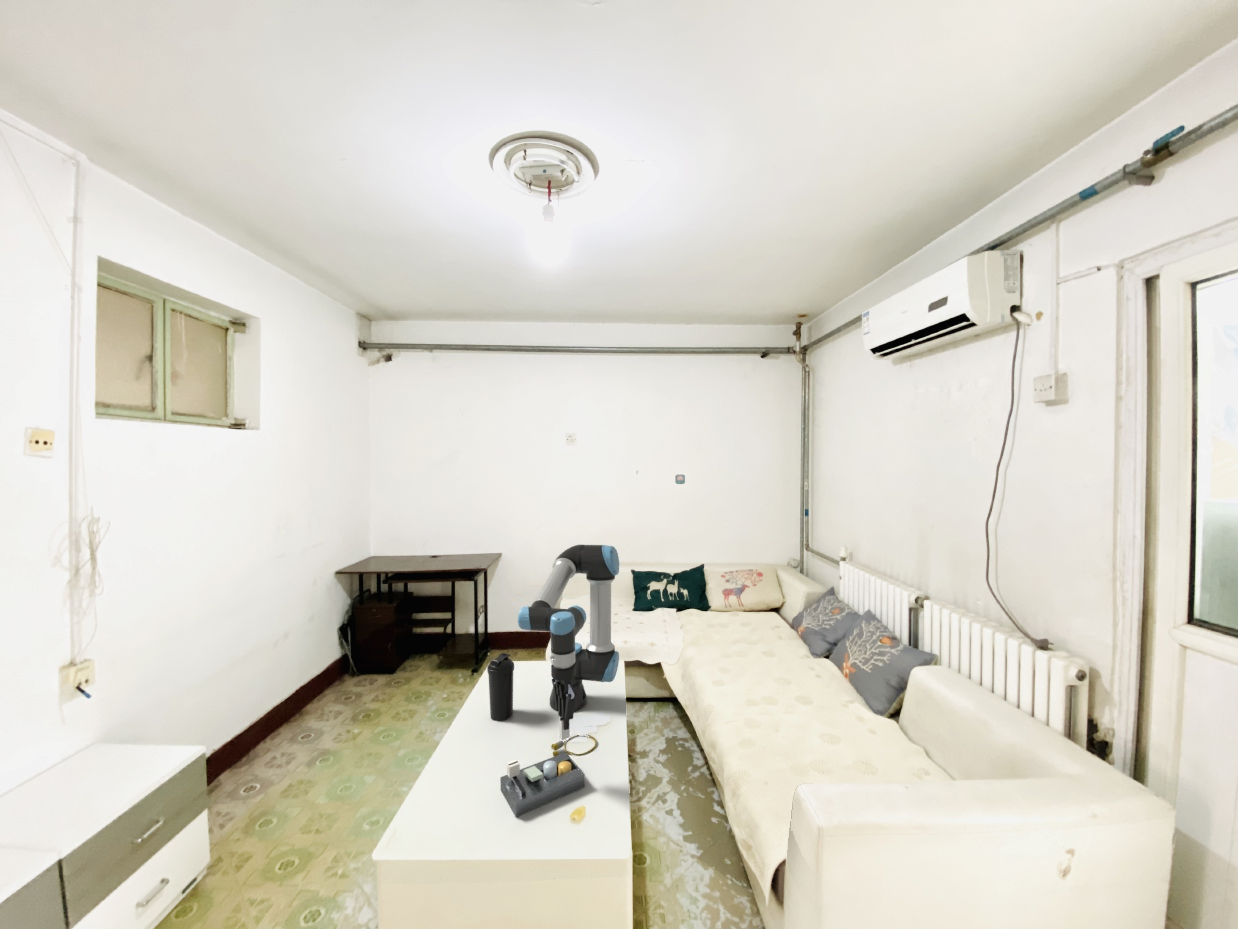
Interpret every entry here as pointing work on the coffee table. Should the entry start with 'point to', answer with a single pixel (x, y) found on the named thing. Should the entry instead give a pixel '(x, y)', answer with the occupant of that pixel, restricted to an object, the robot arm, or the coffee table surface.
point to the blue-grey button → (550, 770)
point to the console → (540, 786)
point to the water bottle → (501, 687)
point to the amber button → (564, 767)
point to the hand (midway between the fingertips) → (564, 737)
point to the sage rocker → (533, 773)
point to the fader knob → (513, 768)
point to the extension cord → (558, 752)
